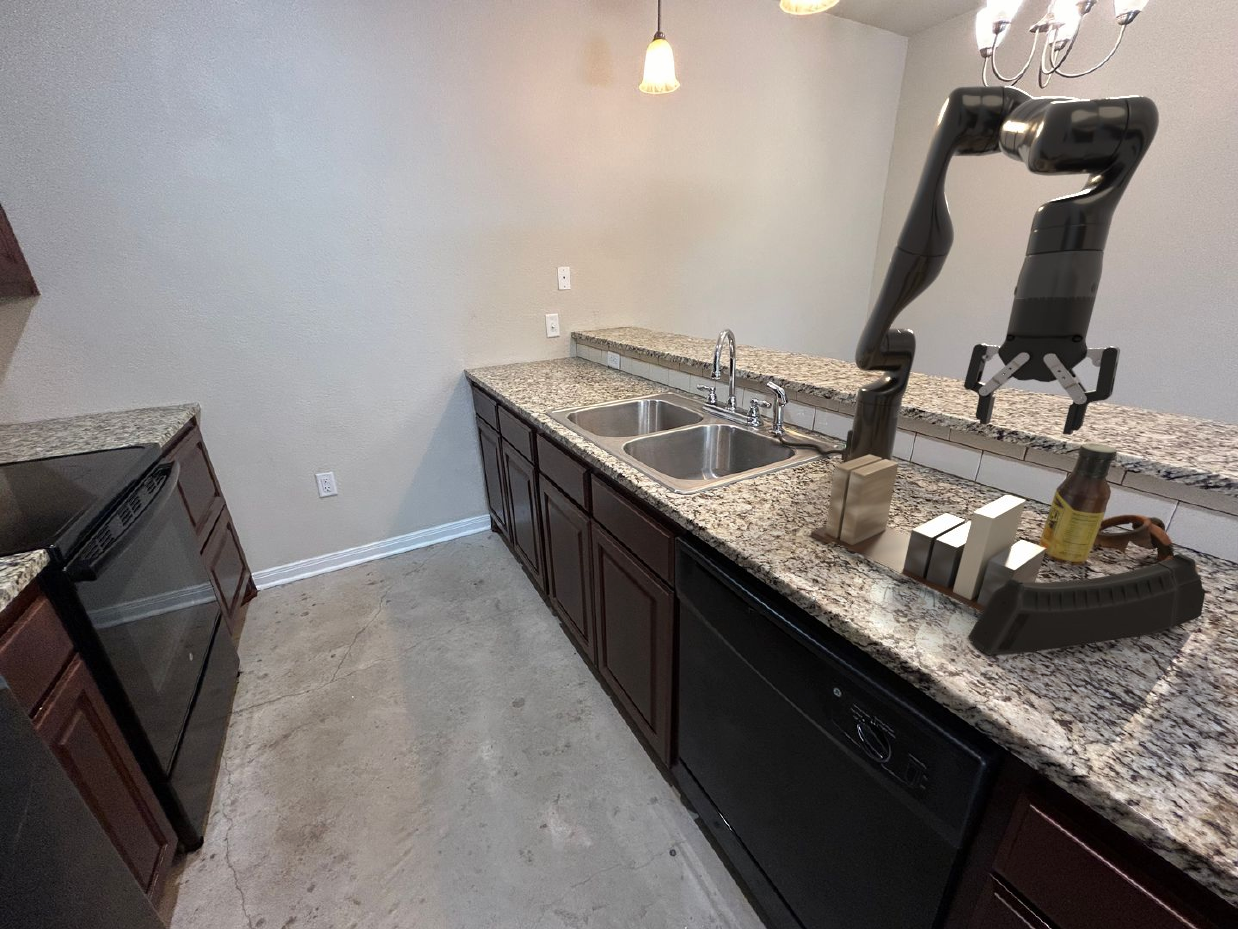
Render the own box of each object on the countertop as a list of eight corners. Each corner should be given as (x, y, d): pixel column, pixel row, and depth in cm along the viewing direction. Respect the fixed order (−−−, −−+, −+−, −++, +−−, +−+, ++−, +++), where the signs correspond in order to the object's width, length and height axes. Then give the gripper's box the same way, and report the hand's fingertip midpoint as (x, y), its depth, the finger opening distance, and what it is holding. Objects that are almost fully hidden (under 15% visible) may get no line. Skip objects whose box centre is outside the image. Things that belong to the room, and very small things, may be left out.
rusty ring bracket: (1168, 585, 75) (1146, 537, 75) (1091, 580, 84) (1071, 537, 84) (1199, 546, 80) (1178, 501, 79) (1123, 545, 89) (1104, 504, 88)
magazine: (986, 605, 57) (1222, 514, 58) (963, 588, 60) (1188, 503, 61) (989, 708, 63) (1202, 625, 64) (968, 688, 66) (1172, 609, 67)
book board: (810, 536, 91) (820, 464, 86) (854, 517, 97) (865, 450, 92) (1007, 630, 66) (1036, 537, 61) (1047, 597, 72) (1077, 511, 67)
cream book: (952, 591, 72) (973, 511, 68) (985, 570, 77) (1006, 494, 73) (970, 600, 71) (993, 518, 66) (1002, 577, 76) (1026, 500, 71)
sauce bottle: (1038, 546, 86) (1073, 436, 79) (1086, 560, 82) (1128, 445, 74) (1032, 561, 81) (1068, 446, 74) (1082, 576, 77) (1126, 456, 70)
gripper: (1141, 293, 56) (1103, 433, 61) (991, 298, 67) (968, 417, 71) (1134, 291, 52) (1094, 442, 56) (974, 296, 62) (950, 424, 67)
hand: (1023, 428), depth 64 cm, fingers open, 8 cm apart
